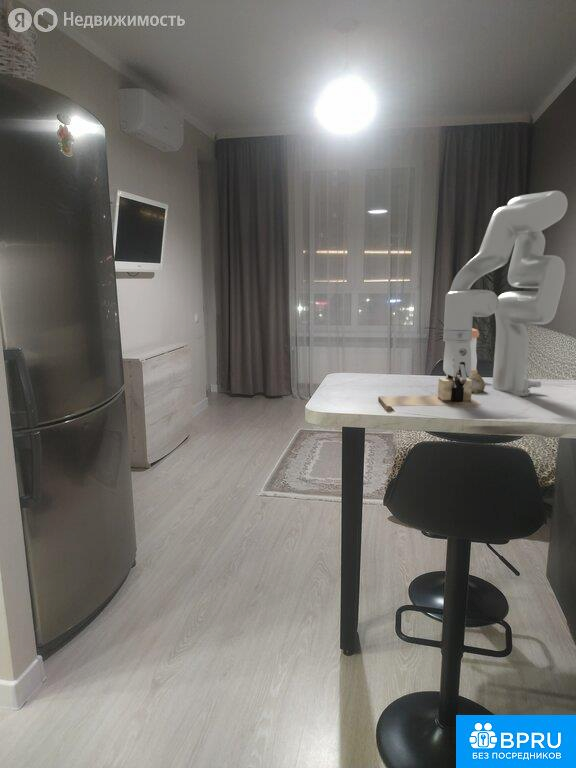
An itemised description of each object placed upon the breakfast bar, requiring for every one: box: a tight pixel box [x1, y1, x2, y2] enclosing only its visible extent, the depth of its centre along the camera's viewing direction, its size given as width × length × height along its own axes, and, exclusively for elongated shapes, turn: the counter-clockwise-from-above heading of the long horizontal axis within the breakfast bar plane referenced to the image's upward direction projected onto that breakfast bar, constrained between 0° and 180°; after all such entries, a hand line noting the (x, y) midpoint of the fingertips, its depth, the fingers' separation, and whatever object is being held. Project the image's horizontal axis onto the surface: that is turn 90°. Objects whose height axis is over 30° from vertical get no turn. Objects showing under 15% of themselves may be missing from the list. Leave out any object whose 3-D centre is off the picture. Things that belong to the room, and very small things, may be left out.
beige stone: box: [466, 372, 486, 394], centre depth 159 cm, size 8×10×10 cm
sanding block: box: [437, 377, 472, 402], centre depth 146 cm, size 8×4×6 cm, turn 92°
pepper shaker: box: [457, 327, 480, 377], centre depth 183 cm, size 7×7×19 cm
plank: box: [377, 395, 481, 412], centre depth 147 cm, size 26×12×2 cm, turn 91°
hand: (453, 398), depth 147 cm, fingers closed on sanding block, 4 cm apart
